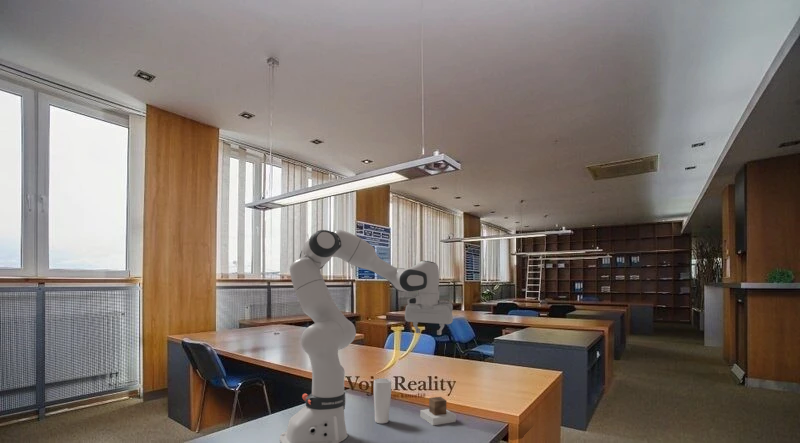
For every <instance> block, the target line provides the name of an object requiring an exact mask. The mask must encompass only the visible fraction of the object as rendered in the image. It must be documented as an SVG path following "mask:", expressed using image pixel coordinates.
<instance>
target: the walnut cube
mask: <svg viewBox="0 0 800 443" xmlns="http://www.w3.org/2000/svg"><path fill="white" fill-rule="evenodd" d="M428 400H429V402H428V403H429V404H428V409H429V411H430V412H431V413H432V414H433V415H443V414H446V409H447V399H445V398H443V397H442V396H435V397H429V398H428Z"/></svg>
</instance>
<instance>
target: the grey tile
mask: <svg viewBox="0 0 800 443" xmlns="http://www.w3.org/2000/svg"><path fill="white" fill-rule="evenodd" d="M419 411H420V413H419V414H420V415H419V416H420V417H419V418H421V419H422V420H424V421H426V422H428V423H429V424H430V425H432V426H437V425H444V424H450V423H456V421H457V414H455V413H454V412H452V411H450V410H448V408H446V414H443V415H433V414H432V413H431V412H430V411H429V408H426V409H420V410H419Z"/></svg>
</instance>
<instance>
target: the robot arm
mask: <svg viewBox="0 0 800 443" xmlns="http://www.w3.org/2000/svg"><path fill="white" fill-rule="evenodd" d="M333 257H334V258H339V259H341V260H343V261H345V262H346V263H348V264H350V265H353V267H356V268H360V269H362V270H367V271H370V272H372V273H375V274H377V275H378V276H379V277H382V278H384V279H385V280H387V281H388V282H389V283H390V285H391V286H392V287H393V288H394V289H395V291H397V292H407V293H412V292H416V291H418V292H417V293H418V294H417V295H414V296H413V297H410V298H407V299H406V302H407V304H406V306H405V311H404V320H405V321H406V322H408V323H410V322H411V323H412V325H413V328H414V329H415V332H414V333H415V334H420V333H421V328H419V326H418V324H419V323H424V324H425V323H427V324H439V327H440V328H439V329H437V330H436V335H438V336H441V335H442V331H443V329H444V327H445V325H451V324H452V323H453V320H454V315H453V311H454V310H453V309H454V305H453V303H452V302H450V301H449V300H441V299H440V290H439V284H440V270H439V266H438V264H437V263H436V262H433V261H430V260H421V261H419V262H418V263H417V264H415V265H412V266H411V267H410V266H409V267H408V268H402V267H395V266H394V265H392V264H390V263H389V262H387V261H385V260H383V259H382V258H380V257H379V256H378V255H377V252H376V249H375V247H374V246H373V245H372V244H370V243H369V242H368V241H366V240H365V239H363V238H361V237H360V236H357V235H355V234H353V233H351V232H349V231H345V230H342V229H337V230H335V231H331V230H327V229H320V230H318V231H316V232H314V233H312V235H311V236H310V238H308V240H307V241H306V242H305V243H304V246H303V248H302V250H301V252H300V254H299V258H297V259H296V260H294V261H293V262H292V263H291V264H290V266H289V273H290V280H291V283H292V287H293V290H294V291H295V295H296V298H297V300H298V303H299V305H300V308H301V311H302V312H303V314H305V315H306V316H308V317H309V318H310V319H311V320H312V321H313V322H314V323H313V324H311V325H309V326H308V327H307V328H305V329H304V330H303V332H302V333H301V337H300V344H301V348H302V349H303V350H304V352H305V353H306V354H307V355H308V358H309V362H310V365H311V378H312V379H311V380H312V381H311V393H310V394H307V393H303V394H302V396H301V398H302V399H303V401H304V402H305V406H304V407H302V408H301V409H300V410H299V411H298V412H296V413H295V414H294V415H292V416H291V417H290V419H289V421H288V423H287V424H288V425H287V428H286V431H283V432H282V433H281V434H280V436H279V443H341V442H343V441H344V440H345V439H347V437H348V435H349V434H348V431H347V426H346V419H345V409H346V408H345V407H346V392H345V377H346V376H345V373H346V372H345V368H344V367H343V366H342V365H341V362H340V358H339V351H340V350H343V349H345V348H347V347H348V346H349V345H351V343H353V342H354V341H355V338H356V335H357V334H356V332H357V331H356V327H355V324H354V323H353V322H352V321H350V320H349V319H348V318H347V317H346V316H345V315H344V313H343V312H342V311H341V309H340V308H339V307H338V306H337V304H336V303H335V301H334V299H333V297H332V296H331V293H330V291H329V288H328V287H327V283H326V282H325V278H324V276H323V275H322V272H321V269H322V268H324V267H325V265H326V264H327V263H328V262H329V261H330V260H331V259H332V258H333Z"/></svg>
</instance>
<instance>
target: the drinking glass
mask: <svg viewBox="0 0 800 443" xmlns="http://www.w3.org/2000/svg"><path fill="white" fill-rule="evenodd" d="M391 397H392V380H391V379H390V378H380V377H379V378H375V379H374V380H373V402H374V403H373V405H374V406H373V407H374V421H375V423H377V424H381V425H382V424H387V423H389V421H390V407H391V399H392V398H391Z"/></svg>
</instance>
